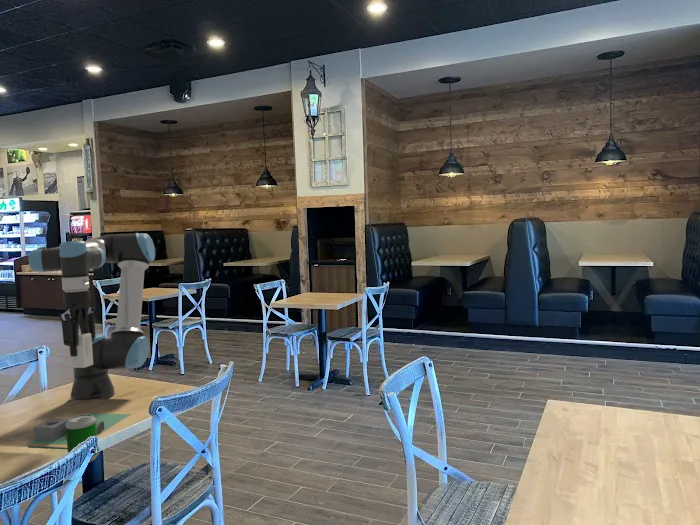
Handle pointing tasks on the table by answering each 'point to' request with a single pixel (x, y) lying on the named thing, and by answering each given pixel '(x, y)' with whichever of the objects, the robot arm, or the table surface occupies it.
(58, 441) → the board
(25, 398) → the table surface
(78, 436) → the soda can
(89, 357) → the plug
